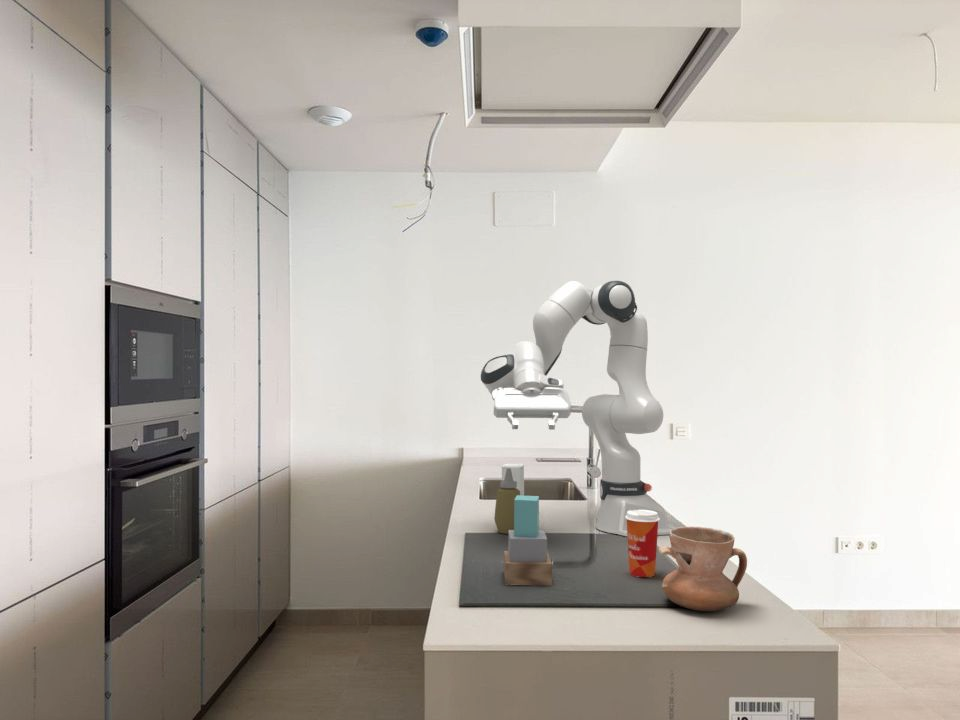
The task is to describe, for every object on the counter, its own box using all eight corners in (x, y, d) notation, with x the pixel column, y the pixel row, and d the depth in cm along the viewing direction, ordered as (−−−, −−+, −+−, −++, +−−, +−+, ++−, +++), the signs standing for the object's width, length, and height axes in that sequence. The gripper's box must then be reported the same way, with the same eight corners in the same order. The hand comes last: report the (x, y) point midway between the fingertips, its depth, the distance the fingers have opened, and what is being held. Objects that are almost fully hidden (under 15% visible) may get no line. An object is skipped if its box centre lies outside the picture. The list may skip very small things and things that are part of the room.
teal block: (538, 531, 155) (538, 496, 155) (536, 537, 150) (537, 500, 150) (516, 530, 156) (516, 495, 156) (514, 536, 151) (514, 499, 151)
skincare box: (521, 516, 217) (521, 466, 217) (500, 515, 218) (500, 466, 218) (524, 510, 225) (525, 463, 225) (504, 509, 226) (505, 462, 226)
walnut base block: (547, 573, 157) (547, 551, 157) (551, 587, 147) (552, 563, 147) (503, 572, 157) (503, 551, 157) (505, 586, 147) (505, 563, 147)
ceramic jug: (669, 618, 128) (671, 542, 129) (646, 592, 143) (648, 523, 143) (763, 619, 129) (765, 543, 129) (731, 593, 144) (733, 525, 144)
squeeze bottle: (507, 537, 190) (508, 471, 190) (488, 531, 196) (488, 468, 196) (528, 532, 195) (528, 469, 195) (508, 527, 201) (509, 465, 201)
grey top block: (543, 552, 157) (543, 530, 157) (547, 562, 149) (547, 539, 149) (508, 552, 157) (508, 530, 157) (509, 561, 149) (510, 538, 149)
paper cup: (618, 571, 158) (618, 510, 158) (645, 567, 161) (645, 507, 161) (638, 581, 151) (639, 517, 151) (667, 577, 154) (667, 514, 154)
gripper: (492, 380, 183) (493, 419, 173) (568, 380, 183) (574, 420, 173) (491, 396, 187) (492, 435, 177) (566, 396, 188) (571, 436, 178)
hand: (533, 427), depth 175 cm, fingers open, 8 cm apart
